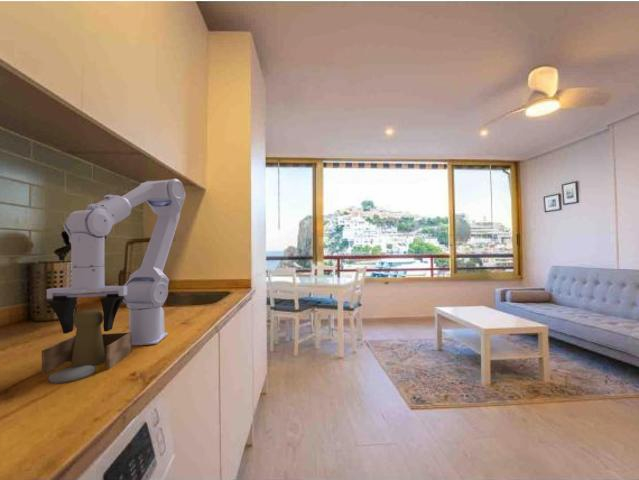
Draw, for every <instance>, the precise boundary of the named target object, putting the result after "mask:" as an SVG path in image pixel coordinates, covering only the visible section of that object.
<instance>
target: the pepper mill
mask: <svg viewBox="0 0 639 480" xmlns="http://www.w3.org/2000/svg"><path fill="white" fill-rule="evenodd" d="M73 317H74V319H73V323H74V326H73V327H75V328H76V330H75V335H74V336H75V343H74V349H73V356H72V358H71V364H70V367H75V366H82V365H91V366H94V367H96V366H99V365H102V364H104V363H106V362H107V355H106V354H105V350H104V344H103V337H102V334H103V331H102V324H103V323H104V315H103V311H102V310H97V309H89V310H83V311H80V312H78V313H75V315H74V316H73Z"/></svg>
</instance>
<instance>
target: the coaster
mask: <svg viewBox="0 0 639 480" xmlns="http://www.w3.org/2000/svg"><path fill="white" fill-rule="evenodd" d="M95 373H96V366H91V365H82V366H75V367H71V366H70V367H66V368H62V369H60V370H57V371H54V372H52V373H51V374H50V375H49V376H48V382H49V383H51V384H65V383H71V382H76V381H79V380H83V379H86V378H88V377H90V376H92V375H93V374H95Z"/></svg>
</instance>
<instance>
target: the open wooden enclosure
mask: <svg viewBox="0 0 639 480" xmlns="http://www.w3.org/2000/svg"><path fill="white" fill-rule="evenodd" d="M75 336H76V335H73V336H70V337H68V338H66V339H64V340H62V341H60V342H59V341H58V343H55V344H53V345H51V346H49V347H46V348H44V349H42V350H41V375H44V374H47V373H48V372H50V371H52V370H54V369H56V368H57V367H59V366H60V365H62V364H65V363H66V362H68V361H70V360H72V356H73V349H74V343H75ZM102 337H103V344H104V350H105V355H106V370H110V369H112V368H113V367H114V366H115V365H117V364H118V363H119V362H121V361H122V360H123V359H124V358H126V357H127V356H129V355H130V354H131V353H132V349H133V347H132V332H131V333H129V332H118V333H116V332H114V333H102Z"/></svg>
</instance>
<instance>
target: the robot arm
mask: <svg viewBox="0 0 639 480" xmlns="http://www.w3.org/2000/svg"><path fill="white" fill-rule="evenodd" d="M186 196H187V194H186V191H185V187H184V185H183V183H182V181H181V180H179V179H178V178H172V179H164V180H163V179H162V180H146V181H145V182H141V183H140V184H139V185H138V186H137V187H135V188H133V189H132V190H130V191H128V192H127V193H125V194H124V195H122V196H121V195H117V194H114V195H113V194H106V195H104V196H103V199H102V200H101V201H99V202H97V203H90V204H88V205H87V206H86V207H87V208H86V209H85V210H84V209H83V210H75V211H73V212H71V213H70V214H69V215H68V216H67V218H66V220H65V222H63V223H62V225H63V229H64V231H65V232H66V234H67V236H68V242H69V243H70V246H71V247H70V253H71V254H70V256H71V258H70V259H71V260H70V261H71V262H70V263H71V264H70V265H71V269H70V270H71V273H70V275H71V276H70V277H71V278H70V279H71V280H70V281H71V282H70V283H71V285H70V287H52V288H48V289H46V299H47V300H48V299H52V300H50V301H48V306H49V307H50V308H51V309H52V310H53V312H54V313H55V315H56V317H57V318H58V321H59V323H60V326H61V330H62V333H63V334H69V333H71V332H73V330H74V327H75V326H74V323H73V319H74V316H75V315H74V314H75V307H76V306H75V305H76V302H77V299H78V298H85V297H88V298H90V297H100V303H101V308H102V313H103V316H104V319H103V323H102V324H103V332H109V331H112V329H113V325H114V321H115V319H116V316H117V313H118V310H119V308H120V306H121V304H122V302H124V304H126V308H127V309H128V325H129V326H128V333H131V332H132V346H144V345H149V346H150V345H157V344H159V342H161V341H162V340H163V339H164V338H165V337H166V336H168V335H169V332H165V311H164V308H163V307H162V306H164V303H165V302H166V300H167V298H168V295H169V282H170V279H169V278H168V276H167V275H166V274H165V273H164V269H165V266H166V262H167V260H168V257H169V253H170V250H171V246H172V244H173V240H174V238H175V234H176V230H177V227H178V226H179V225H178V224H179V221H180V218H181V212H182V208H183V206H184V202H185V200H186ZM145 202H146V203H147V205H148V206H149V207H150V209H151V211H152V212H153V213H154V214H155V215H157V219H156V222H155V225H154V228H153V230H152V234H151V237H150V240H149V242H148V245H147V248H146V251H145V254H144V257H143V260H142V263H141V265H140V267H139V268H138V269H137V270H135V271H134V272H132V273H131V274H129V277H128V280H127V281H126V282H125V283H124V284H123V285H105V284H106V283H105V282H106V281H105V280H106V278H105V274H106V273H105V271H106V269H105V264H106V262H105V256H106V255H105V243H106V241H105V236H108V235H109V234H110V233H111V231H112V228H113V226H115V225H116V224H118V223H120V222H121V221H123V220H125V219H126V218H128V217H129V216H130V215H131V214H132V209H133V208H135V207H137V206H139V205H141V204H143V203H145ZM101 297H102V298H101Z"/></svg>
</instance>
